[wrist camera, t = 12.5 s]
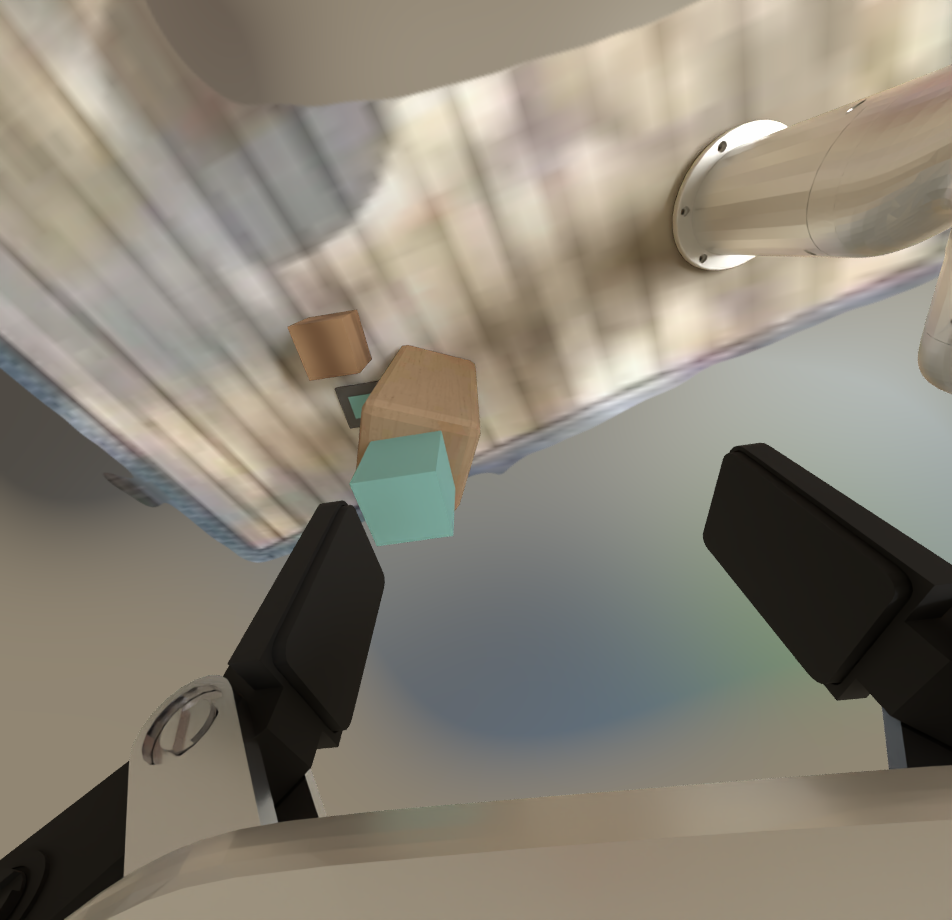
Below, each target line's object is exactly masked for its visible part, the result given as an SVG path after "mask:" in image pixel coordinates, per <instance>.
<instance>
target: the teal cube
mask: <svg viewBox="0 0 952 920" xmlns="http://www.w3.org/2000/svg"><path fill="white" fill-rule="evenodd" d="M350 486H351V489H352V491H353V493H354V495H355V498H356V500H357V502H358V505H359V507H360V509H361V511H362V514H363V516H364V518H365V520H366V523H367V525H368V527H369V529H370V532H371V534H372V536H373V538H374V541H375V543H376V545H377V546H382V545H389V544H397V543H404V542H411V541H418V540H426V539H433V538H440V537H448V536H453V530H454V508H455V485H454V481H453V477H452V473H451V469H450V464H449V460H448V456H447V452H446V448H445V444H444V439H443V435H442V431H435V432H429V433H422V434H416V435H409V436H403V437H397V438H390V439H384V440H377V441H371V442H370V443H369V445H368V447H367V449H366V451H365V453H364V456H363V458H362V460H361V462H360V464H359V466H358V468H357V470H356V472H355V474H354V476H353V478H352V480H351V482H350Z"/></svg>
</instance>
